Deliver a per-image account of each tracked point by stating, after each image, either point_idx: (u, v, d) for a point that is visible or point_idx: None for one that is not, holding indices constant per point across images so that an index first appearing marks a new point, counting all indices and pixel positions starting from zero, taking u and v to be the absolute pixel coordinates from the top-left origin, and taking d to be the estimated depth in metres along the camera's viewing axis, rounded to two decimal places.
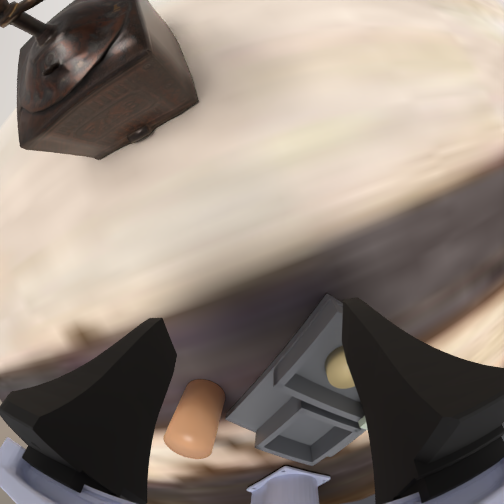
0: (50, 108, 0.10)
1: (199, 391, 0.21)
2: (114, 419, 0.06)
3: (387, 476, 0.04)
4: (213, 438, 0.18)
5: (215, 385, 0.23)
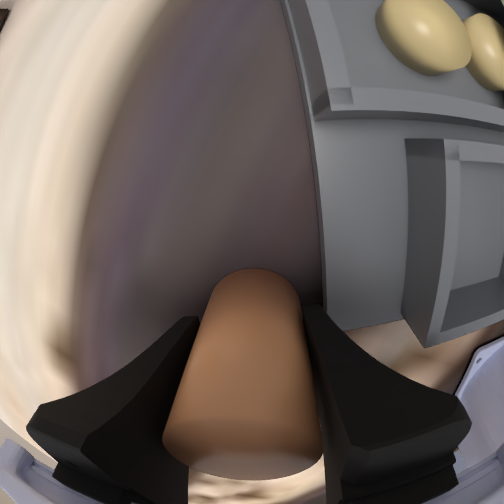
0: None
1: (217, 300, 0.09)
2: (159, 427, 0.06)
3: (330, 489, 0.04)
4: (301, 395, 0.06)
5: (251, 271, 0.11)
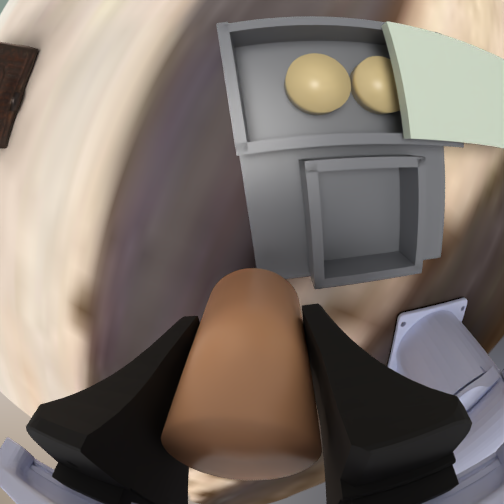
0: None
1: (216, 300, 0.10)
2: (159, 426, 0.06)
3: (330, 489, 0.04)
4: (299, 395, 0.06)
5: (250, 271, 0.11)
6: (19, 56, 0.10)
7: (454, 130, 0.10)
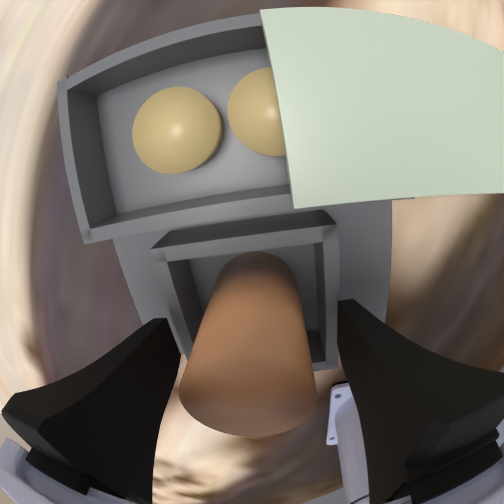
0: None
1: (225, 276, 0.11)
2: (119, 420, 0.06)
3: (380, 478, 0.04)
4: (297, 347, 0.07)
5: (254, 253, 0.12)
6: None
7: (389, 179, 0.08)
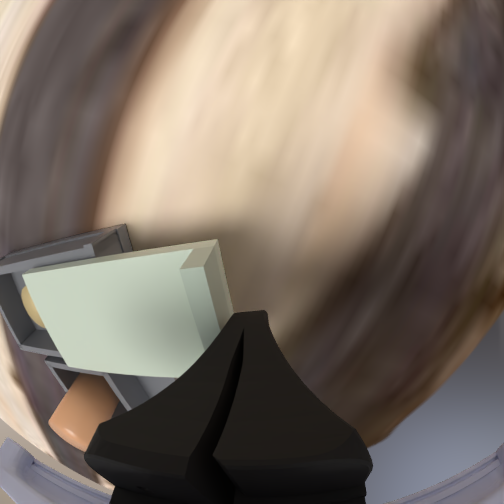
0: None
1: (78, 375, 0.16)
2: None
3: None
4: (81, 423, 0.12)
5: None
6: None
7: (97, 363, 0.13)
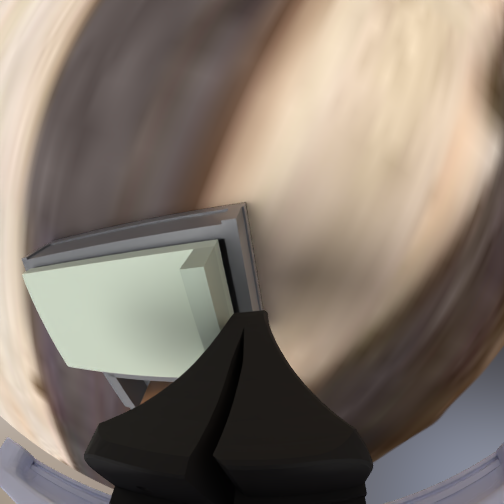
0: None
1: (151, 385, 0.16)
2: None
3: None
4: None
5: None
6: None
7: (97, 363, 0.13)
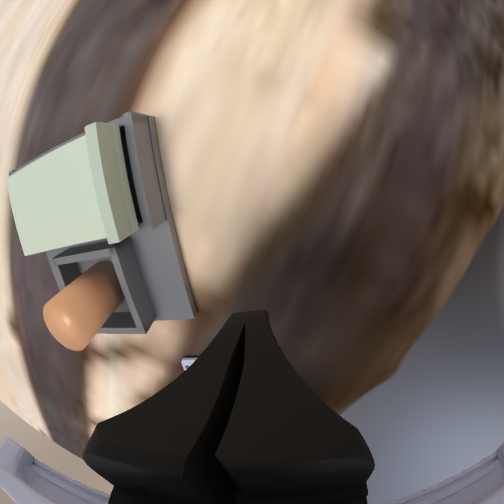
0: None
1: (82, 273, 0.18)
2: None
3: None
4: (79, 303, 0.15)
5: (102, 261, 0.20)
6: None
7: (43, 243, 0.16)
